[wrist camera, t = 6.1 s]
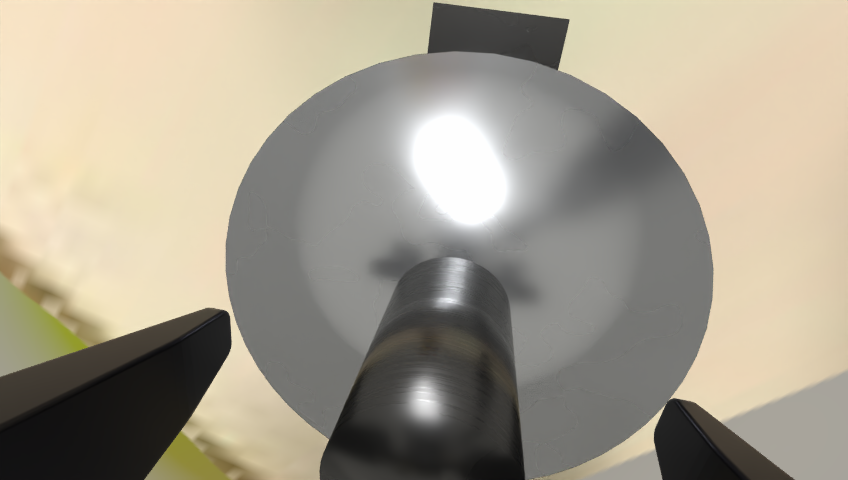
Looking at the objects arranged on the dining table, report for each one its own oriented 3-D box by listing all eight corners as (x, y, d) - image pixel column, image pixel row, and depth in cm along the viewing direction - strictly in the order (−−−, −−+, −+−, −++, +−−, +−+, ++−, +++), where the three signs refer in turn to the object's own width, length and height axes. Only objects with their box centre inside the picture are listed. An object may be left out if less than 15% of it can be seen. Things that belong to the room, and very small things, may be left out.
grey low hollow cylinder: (676, 52, 13) (780, 42, 8) (562, 400, 18) (587, 511, 14) (329, 7, 14) (249, -25, 9) (317, 351, 19) (262, 439, 15)
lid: (787, 93, 9) (1278, 129, 3) (613, 496, 13) (698, 784, 8) (230, 20, 10) (-92, -42, 4) (249, 418, 14) (106, 626, 9)
